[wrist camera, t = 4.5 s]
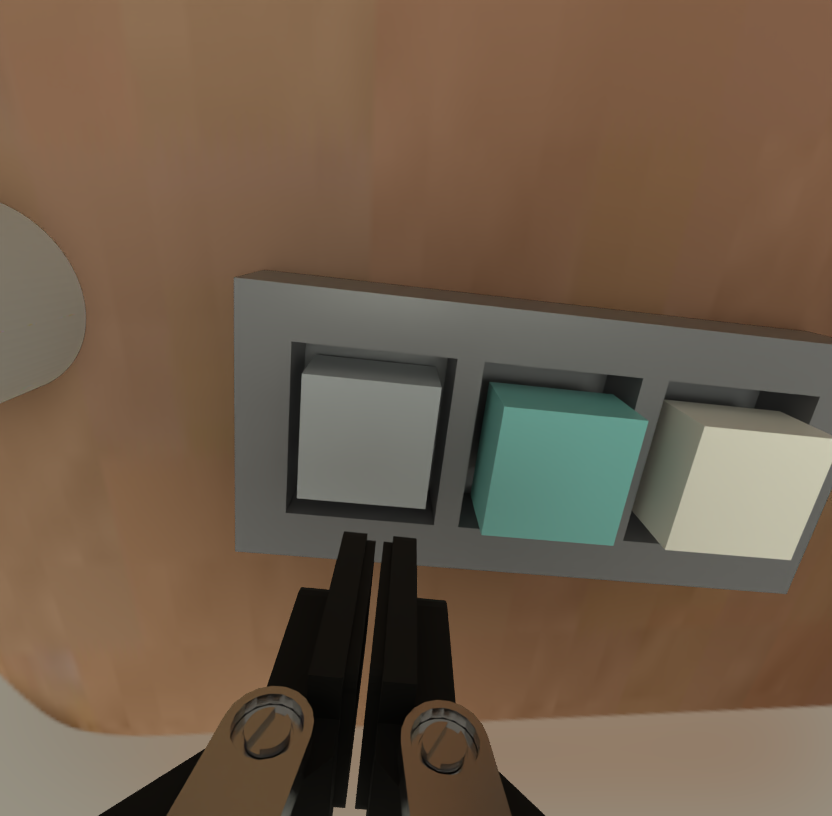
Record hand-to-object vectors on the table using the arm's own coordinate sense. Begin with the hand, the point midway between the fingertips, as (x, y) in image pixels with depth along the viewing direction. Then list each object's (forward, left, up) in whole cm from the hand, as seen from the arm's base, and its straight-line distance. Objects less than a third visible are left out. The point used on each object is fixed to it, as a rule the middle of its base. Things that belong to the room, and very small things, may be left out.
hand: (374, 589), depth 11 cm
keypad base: (-5, -4, -12) cm, 14 cm away
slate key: (+1, 0, -11) cm, 11 cm away
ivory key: (-11, -8, -9) cm, 16 cm away
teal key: (-5, -4, -9) cm, 11 cm away
